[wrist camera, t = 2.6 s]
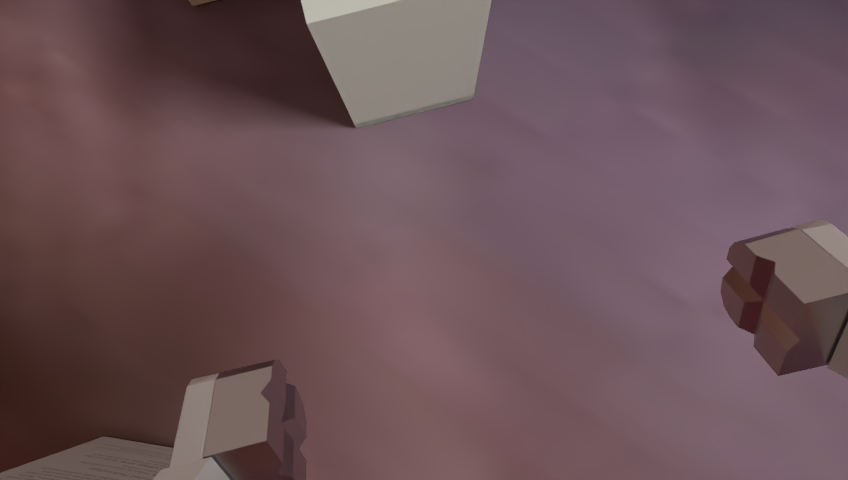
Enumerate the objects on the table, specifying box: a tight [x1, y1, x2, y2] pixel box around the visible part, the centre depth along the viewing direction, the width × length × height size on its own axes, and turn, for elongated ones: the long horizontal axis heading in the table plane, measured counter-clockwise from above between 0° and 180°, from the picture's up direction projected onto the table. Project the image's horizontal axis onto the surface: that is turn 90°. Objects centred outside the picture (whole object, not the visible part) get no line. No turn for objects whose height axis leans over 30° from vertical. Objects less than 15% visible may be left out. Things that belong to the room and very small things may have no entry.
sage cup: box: [301, 0, 492, 128], centre depth 21 cm, size 6×6×10 cm
